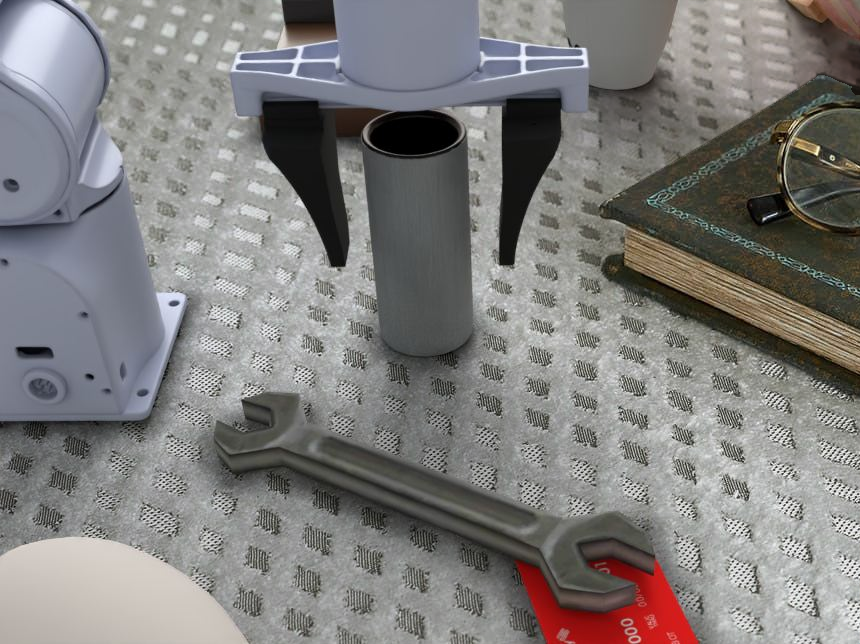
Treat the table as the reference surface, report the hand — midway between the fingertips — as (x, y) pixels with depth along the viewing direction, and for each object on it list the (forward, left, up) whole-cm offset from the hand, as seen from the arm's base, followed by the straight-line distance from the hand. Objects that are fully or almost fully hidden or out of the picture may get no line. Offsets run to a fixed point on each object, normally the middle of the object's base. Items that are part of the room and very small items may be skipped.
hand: (423, 254), depth 55 cm
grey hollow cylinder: (0, 0, -4) cm, 4 cm away
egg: (-20, +14, 0) cm, 25 cm away
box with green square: (+26, +6, -4) cm, 28 cm away
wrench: (-18, -9, -3) cm, 20 cm away
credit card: (-18, -8, -4) cm, 20 cm away
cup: (+28, -11, -4) cm, 31 cm away
